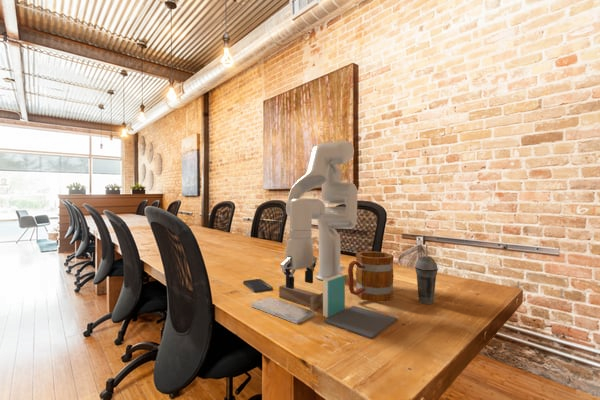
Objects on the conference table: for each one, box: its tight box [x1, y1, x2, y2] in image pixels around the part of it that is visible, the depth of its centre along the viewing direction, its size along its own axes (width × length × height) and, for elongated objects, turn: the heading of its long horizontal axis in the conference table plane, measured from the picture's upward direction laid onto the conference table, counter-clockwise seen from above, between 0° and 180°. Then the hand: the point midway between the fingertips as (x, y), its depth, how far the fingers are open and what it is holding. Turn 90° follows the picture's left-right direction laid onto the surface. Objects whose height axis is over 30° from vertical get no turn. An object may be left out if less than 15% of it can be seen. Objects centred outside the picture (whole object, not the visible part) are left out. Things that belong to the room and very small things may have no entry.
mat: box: [323, 305, 399, 340], centre depth 87 cm, size 16×15×1 cm
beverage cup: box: [414, 243, 439, 305], centre depth 103 cm, size 7×7×20 cm
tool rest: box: [251, 296, 316, 325], centre depth 94 cm, size 8×20×1 cm, turn 48°
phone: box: [242, 278, 274, 294], centre depth 120 cm, size 8×1×15 cm
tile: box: [322, 273, 346, 318], centre depth 93 cm, size 9×2×11 cm, turn 138°
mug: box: [347, 251, 395, 303], centre depth 107 cm, size 20×14×15 cm
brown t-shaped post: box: [278, 284, 323, 311], centre depth 102 cm, size 6×17×4 cm, turn 49°
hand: (299, 285), depth 101 cm, fingers open, 9 cm apart
